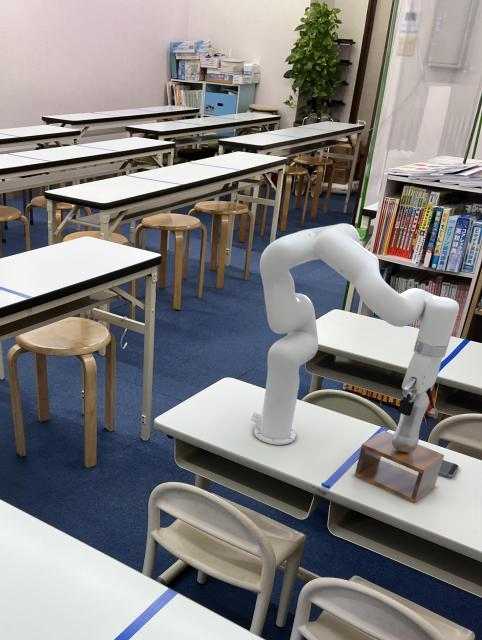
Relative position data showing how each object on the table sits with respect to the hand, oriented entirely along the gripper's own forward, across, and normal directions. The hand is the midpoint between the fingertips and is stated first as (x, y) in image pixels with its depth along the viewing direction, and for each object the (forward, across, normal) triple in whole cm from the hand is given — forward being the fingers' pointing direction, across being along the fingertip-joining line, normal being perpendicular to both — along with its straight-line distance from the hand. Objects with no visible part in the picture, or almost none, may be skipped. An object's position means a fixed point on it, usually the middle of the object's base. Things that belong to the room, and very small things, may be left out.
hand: (412, 408), depth 182 cm
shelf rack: (+23, 0, +1) cm, 23 cm away
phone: (+23, -16, +3) cm, 28 cm away
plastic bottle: (+12, 0, 0) cm, 13 cm away
